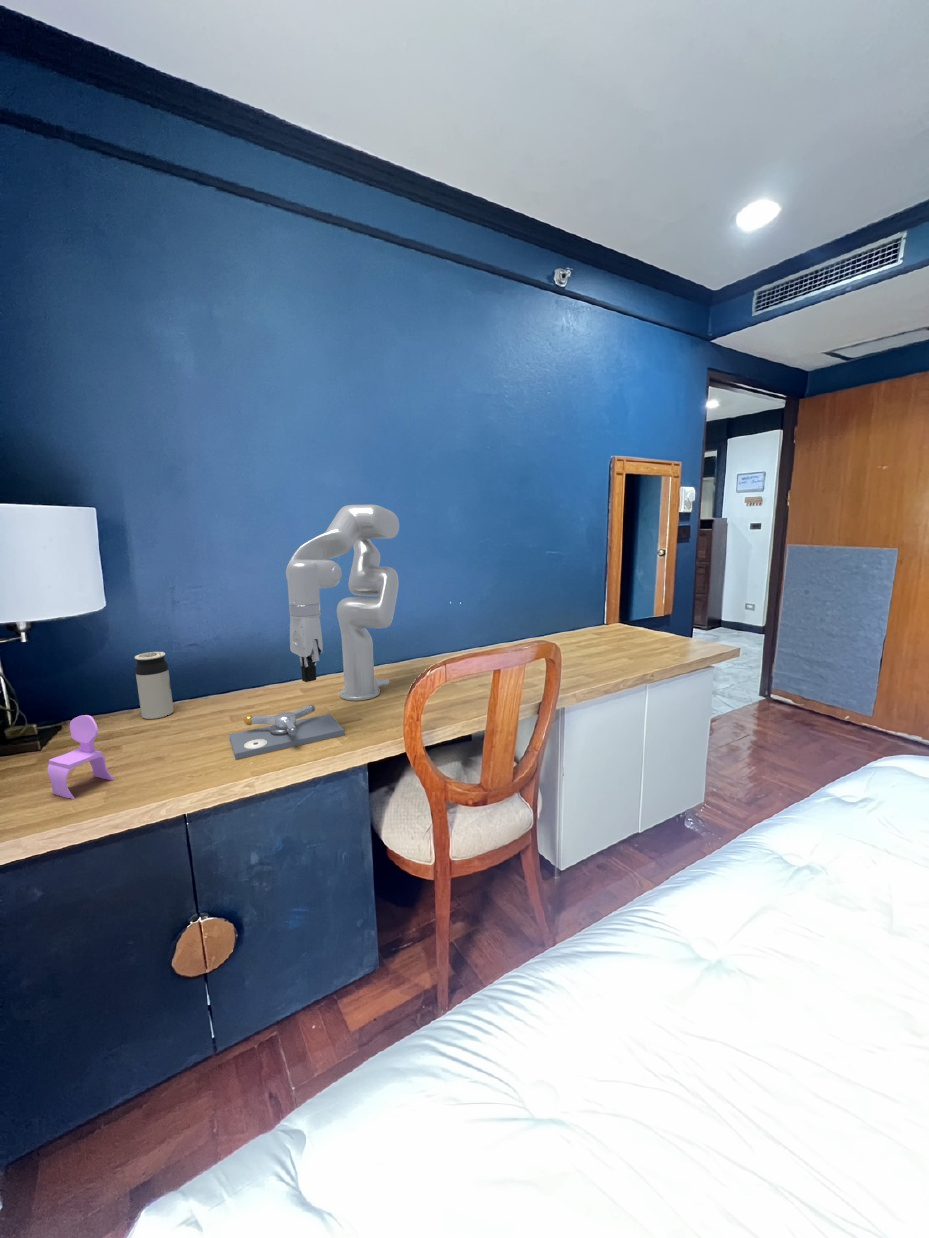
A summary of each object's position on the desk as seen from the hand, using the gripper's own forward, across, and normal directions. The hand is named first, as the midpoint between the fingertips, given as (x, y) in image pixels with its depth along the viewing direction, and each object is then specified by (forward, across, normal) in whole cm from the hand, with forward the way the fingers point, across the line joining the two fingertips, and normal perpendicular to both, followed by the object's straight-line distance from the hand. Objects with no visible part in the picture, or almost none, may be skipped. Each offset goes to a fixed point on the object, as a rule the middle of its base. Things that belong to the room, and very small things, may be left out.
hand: (309, 680), depth 129 cm
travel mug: (+14, -43, -28) cm, 53 cm away
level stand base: (+14, -1, -6) cm, 16 cm away
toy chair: (+15, -6, -48) cm, 51 cm away
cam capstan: (+12, -4, -8) cm, 15 cm away
